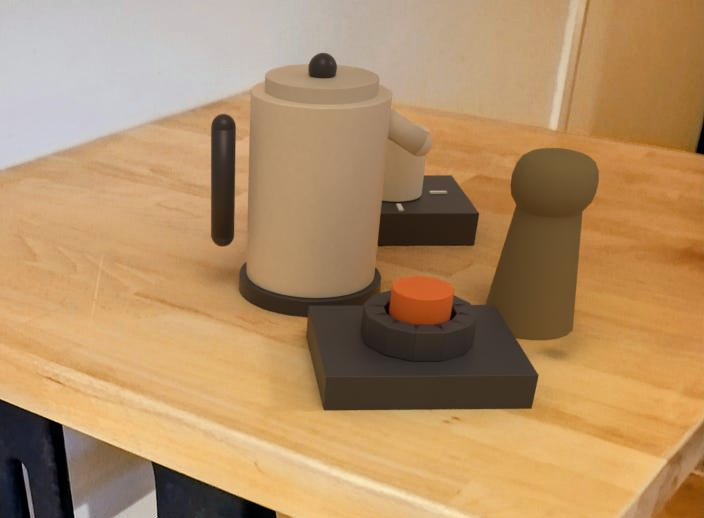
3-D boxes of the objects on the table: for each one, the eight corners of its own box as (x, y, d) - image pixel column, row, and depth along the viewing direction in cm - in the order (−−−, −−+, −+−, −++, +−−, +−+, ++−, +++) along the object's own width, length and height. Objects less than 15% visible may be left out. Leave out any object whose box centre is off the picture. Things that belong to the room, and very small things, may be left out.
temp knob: (358, 183, 84) (364, 116, 81) (415, 183, 85) (423, 116, 81) (366, 202, 81) (372, 131, 77) (426, 202, 81) (435, 132, 78)
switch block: (489, 336, 67) (499, 277, 64) (531, 409, 58) (545, 345, 56) (306, 337, 66) (309, 278, 64) (323, 411, 58) (328, 346, 56)
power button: (443, 303, 62) (447, 275, 61) (456, 328, 59) (460, 299, 58) (384, 303, 62) (387, 275, 60) (394, 328, 59) (397, 299, 58)
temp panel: (447, 204, 88) (452, 173, 87) (474, 245, 80) (479, 211, 79) (309, 204, 88) (311, 173, 86) (322, 245, 80) (325, 211, 78)
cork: (500, 344, 66) (532, 168, 59) (468, 307, 70) (494, 140, 64) (588, 338, 66) (630, 164, 60) (550, 302, 71) (585, 137, 65)
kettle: (401, 263, 77) (427, 38, 68) (427, 317, 69) (461, 70, 60) (209, 264, 76) (209, 37, 67) (212, 319, 68) (213, 69, 59)
